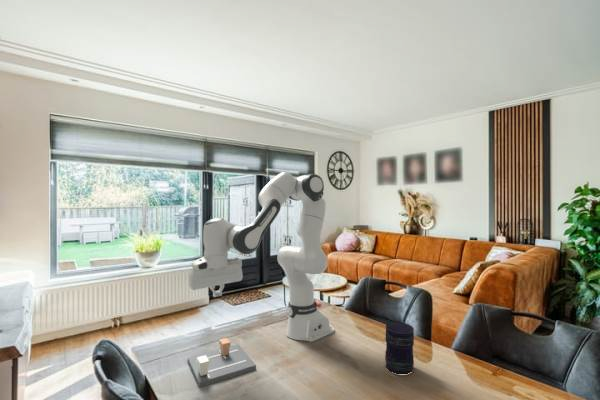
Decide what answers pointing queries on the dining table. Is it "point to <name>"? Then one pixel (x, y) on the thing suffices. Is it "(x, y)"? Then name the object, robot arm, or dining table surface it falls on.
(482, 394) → the dining table surface
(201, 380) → the console
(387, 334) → the storage jar
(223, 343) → the terracotta fader
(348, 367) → the dining table surface
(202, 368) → the cream fader
